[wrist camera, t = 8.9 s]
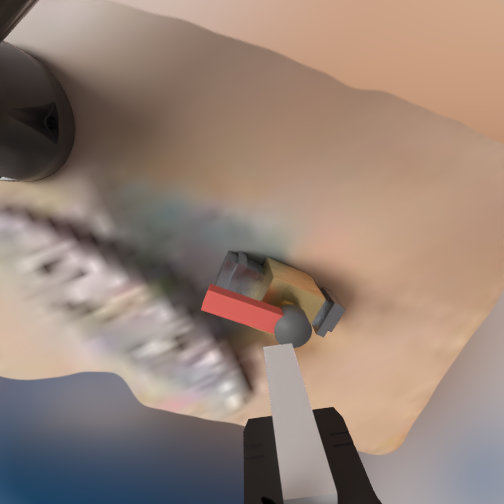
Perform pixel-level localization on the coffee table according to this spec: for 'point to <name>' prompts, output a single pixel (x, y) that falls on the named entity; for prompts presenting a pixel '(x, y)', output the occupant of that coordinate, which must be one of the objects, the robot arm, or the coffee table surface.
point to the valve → (281, 289)
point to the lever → (260, 315)
